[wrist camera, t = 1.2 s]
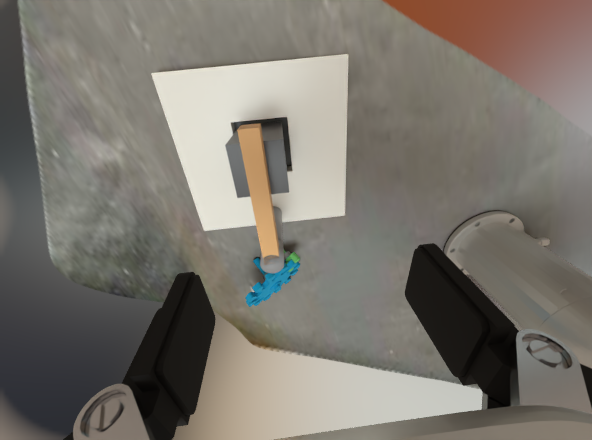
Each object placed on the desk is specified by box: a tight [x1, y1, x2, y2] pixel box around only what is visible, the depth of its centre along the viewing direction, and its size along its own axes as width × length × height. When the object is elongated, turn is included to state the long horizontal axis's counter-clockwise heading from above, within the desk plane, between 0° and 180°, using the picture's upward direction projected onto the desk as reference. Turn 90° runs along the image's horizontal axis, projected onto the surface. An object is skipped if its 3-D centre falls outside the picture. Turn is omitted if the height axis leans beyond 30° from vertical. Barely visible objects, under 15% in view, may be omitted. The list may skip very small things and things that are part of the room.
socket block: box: [151, 54, 348, 243], centre depth 27 cm, size 20×19×9 cm
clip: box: [237, 123, 284, 273], centre depth 22 cm, size 2×14×3 cm, turn 5°
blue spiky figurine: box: [246, 250, 300, 307], centre depth 38 cm, size 11×6×10 cm
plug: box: [225, 121, 289, 198], centre depth 26 cm, size 5×5×10 cm
